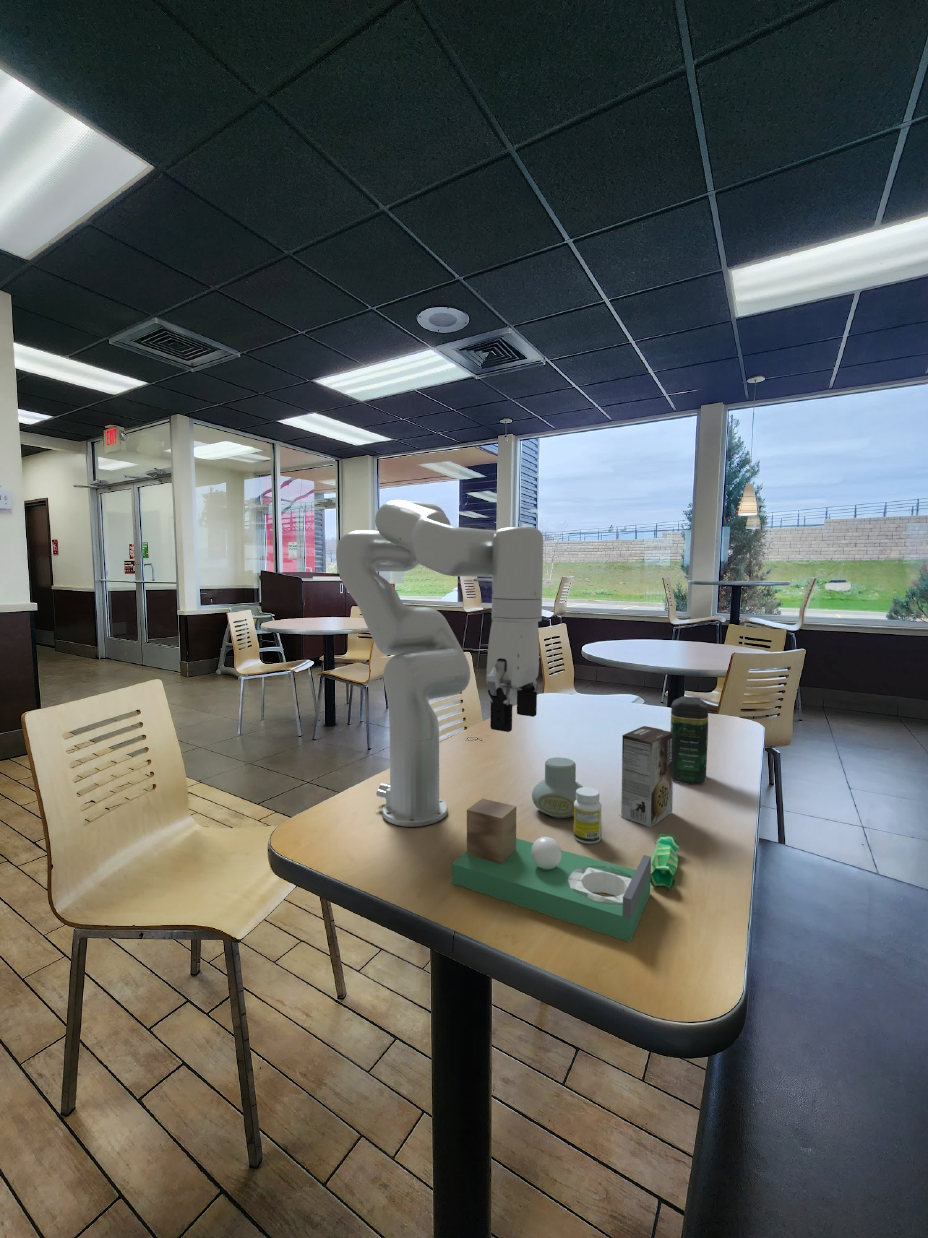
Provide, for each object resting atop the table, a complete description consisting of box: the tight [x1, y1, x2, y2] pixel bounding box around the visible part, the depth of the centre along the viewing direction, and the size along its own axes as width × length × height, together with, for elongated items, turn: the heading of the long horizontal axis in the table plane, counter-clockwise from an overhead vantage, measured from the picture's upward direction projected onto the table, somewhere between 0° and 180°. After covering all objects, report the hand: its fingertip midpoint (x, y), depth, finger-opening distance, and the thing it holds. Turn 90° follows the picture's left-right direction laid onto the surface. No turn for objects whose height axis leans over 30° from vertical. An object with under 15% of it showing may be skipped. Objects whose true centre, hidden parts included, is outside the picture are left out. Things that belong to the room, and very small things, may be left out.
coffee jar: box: [669, 695, 709, 785], centre depth 121 cm, size 10×8×19 cm
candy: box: [650, 833, 680, 892], centre depth 83 cm, size 12×3×4 cm
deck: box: [451, 837, 652, 943], centre depth 77 cm, size 26×12×6 cm, turn 60°
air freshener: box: [531, 756, 584, 819], centre depth 104 cm, size 11×8×10 cm
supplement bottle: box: [573, 786, 602, 845], centre depth 93 cm, size 5×5×8 cm
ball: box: [531, 836, 562, 870], centre depth 77 cm, size 4×4×4 cm
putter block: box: [466, 798, 517, 864], centre depth 82 cm, size 6×5×7 cm
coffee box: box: [620, 725, 674, 828], centre depth 102 cm, size 9×6×16 cm
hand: (514, 722), depth 81 cm, fingers open, 9 cm apart
